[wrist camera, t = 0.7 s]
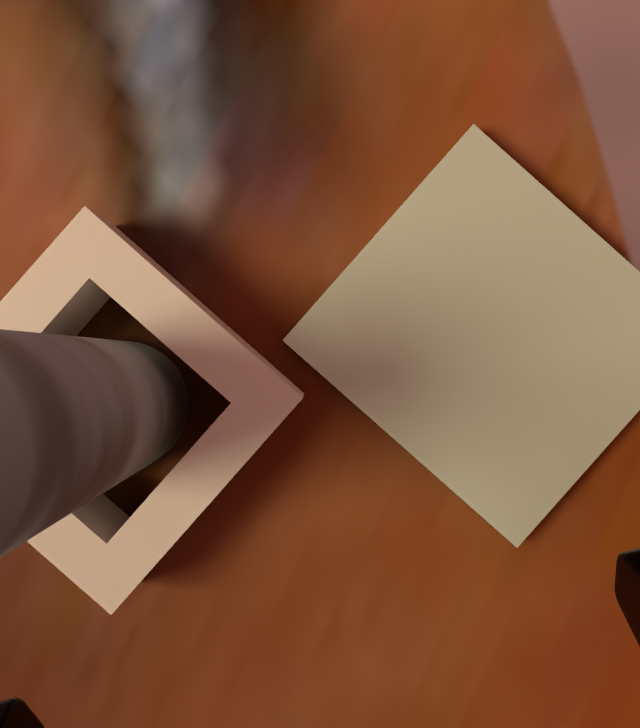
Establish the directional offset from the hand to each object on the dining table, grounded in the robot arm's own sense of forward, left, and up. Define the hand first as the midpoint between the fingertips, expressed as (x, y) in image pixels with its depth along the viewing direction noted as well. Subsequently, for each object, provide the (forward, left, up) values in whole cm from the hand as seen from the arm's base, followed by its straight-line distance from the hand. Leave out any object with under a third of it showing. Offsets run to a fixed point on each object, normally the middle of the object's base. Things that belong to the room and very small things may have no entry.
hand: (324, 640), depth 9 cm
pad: (+8, -2, -15) cm, 17 cm away
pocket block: (-3, +7, -15) cm, 17 cm away
